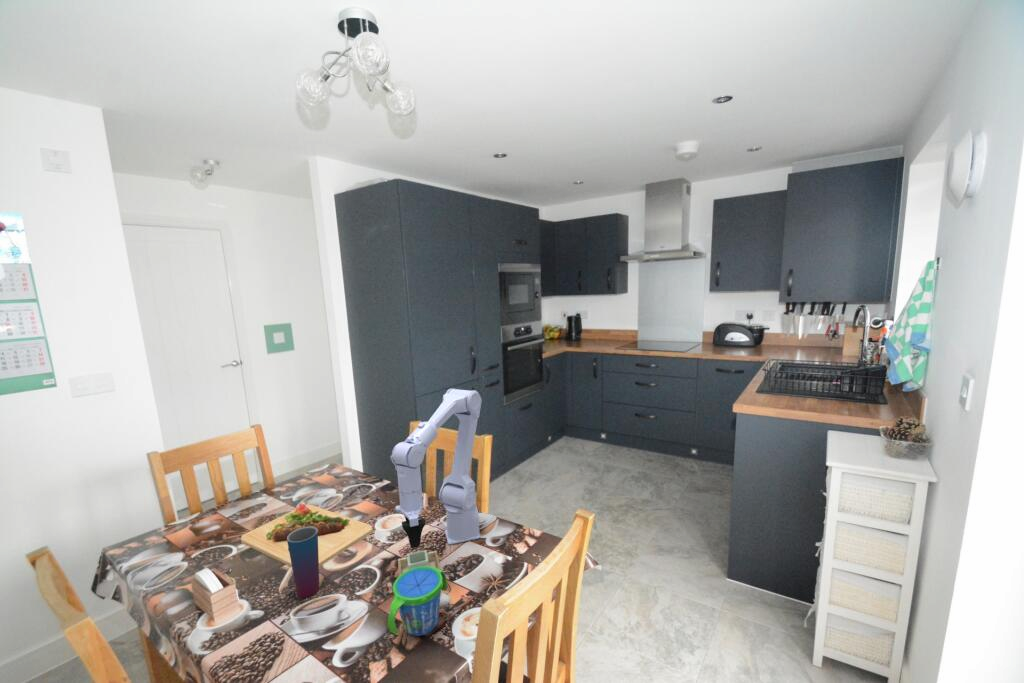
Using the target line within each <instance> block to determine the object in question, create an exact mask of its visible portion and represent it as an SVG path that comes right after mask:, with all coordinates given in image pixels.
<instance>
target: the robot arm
mask: <svg viewBox="0 0 1024 683" xmlns="http://www.w3.org/2000/svg"><path fill="white" fill-rule="evenodd" d="M482 401H483V400H482V397H481V395H480V393H479V392H478V391H477V390H467V389H457V388H453V387H452V388H449V389H447V391H446V392H445V394H443V395H442V402H441V403H440V404H439V407H438V408H436V410H435V412H433V414H432V415H431V417H430V418H429V419H428V421H422V422H419V423H418V425H417V427H416V428H415V429H414V430H413V431H412V432H411V433H410V434H409V436H408V437H406V439H405V440H404V441H400V442H398V443H397V444H396V445H394V447H393V449H392V451H391V455H390V461H391V462H392V463H393V465H394V468H395V471H397V472H396V473H397V475H396V476H397V487H398V496H399V505H395V512H400V513H401V514H403V516H404V519H405V520H403V521H401V527H402V529H403V531H404V532H405V533H406V536H407V539H408V542H409V545H410V548H411V549H414V548H418V547H421V546H420V545H421V540H422V533H423V529H424V527H425V525H426V518H421V519H419V517H420V515H421V513H422V510H423V509H424V505H425V504H424V500H423V489H422V488H423V486H422V476H421V475H422V474H421V464H423V462H424V459H425V455H426V454H427V449H428V448H429V447H430V446H431V445H432V444H433V442H434V440H436V439H437V437H438V436H439V435H438V434H439V432H438V430H439V429H440V428H441V426H443V425H444V424H445V423H446V422H447V421H448V419H450V418H451V417H452V415H454V416H456V417H457V419H458V421H459V424H458V431H457V436H456V444H455V447H454V448H455V449H454V454H453V455H454V456H453V459H452V466H451V471H450V472H451V473H450V474H449V475H447V476H446V477H444V478H443V482H442V485H441V487H440V490H439V493H438V498H439V501H440V502H439V503H441V504H442V505H443V508H444V509H445V516H446V529H444V533H445V536H446V541H447V544H448V545H449V546H450V545H455V544H459V543H464V542H465V543H466V542H469V541H473V540H478V539H480V538H481V535H480V519H479V510H478V506H477V504H476V503H475V501H476V483H475V481H474V480H473V479H472V478H471V476H470V470H471V463H472V457H473V452H474V450H473V449H474V444H475V439H476V432H477V426H478V419H479V418H480V413H481V407H482Z"/></svg>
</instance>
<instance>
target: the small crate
mask: <svg viewBox="0 0 1024 683" xmlns="http://www.w3.org/2000/svg"><path fill="white" fill-rule="evenodd" d="M427 553H428V551H427V549H424V550H419V551H414V552H410V553H407V554H406V557H407V562H408V570H410V569H412V568H416V567H422V566H427V567H429V561H428V556H427Z"/></svg>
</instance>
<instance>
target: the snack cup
mask: <svg viewBox="0 0 1024 683" xmlns="http://www.w3.org/2000/svg"><path fill="white" fill-rule="evenodd" d="M440 569H441V568H440ZM440 569H437V568H432V567H427V566H422V567H416V568H412V569H410V570H407V571H406V572H404V573H402V574H401V575H400V576H399V575H398V577H397V578H396V579H395V580H394V582H393V586H392V592H393V597H394V598H393V600H392V602H391V604H390V607H389V610H388V619H387V627H388V630H389V632H391V633H392V634H394V635H398V633H399V632H398V629H397V624H396V616H397V614H398V612H399V615H400V620H401V623H402V626H403V629H404V631H405V632H406V634H407V635H409V636H414V637H415V636H416V637H419V636H420V637H421V636H426V635H428V634H429V633H430V632H432V631H433V629H434V628H435V627H436V626H437V625H438V622H439V618H440V604H441V595H442V594H441V593H442V592H441V591H443V592H444V591H445V592H446V591H447V590H448V588H449V587H448V586H449V584H448V579H447V576H446V573H445V571H444V570H442V569H441V570H440Z"/></svg>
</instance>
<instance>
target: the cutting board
mask: <svg viewBox="0 0 1024 683" xmlns="http://www.w3.org/2000/svg"><path fill="white" fill-rule="evenodd" d="M303 527H316V528H317V529H318V558H319V568H320V567H322V565H324V564H326V563H328V562H329V561H331V560H332V559H334V558H335V557H337V556H339V555H340V554H342V553H343V552H345V551H346V550H348V549H350V547H352V546H354V545H355V544H357V543H359V542H360V541H362V540H363V539H364V538H366V537H367V536H369V535H371V534H372V533H373V527H372V525H371V524H368V523H366V522H364V521H359V520H357V519H354V518H352V517H347V516H346V515H342V514H339V513H336V512H333V511H331V510H328V509H324V508H322V507H319V506H316V505H312V504H305V503H299V505H298V506H297V508H296V509H292V511H291V510H290V511H289V512H287V513H285V514H283V515H281V516H279V517H277V518H275V519H273V520H270V521H269V522H267V523H264V524H263V525H261V526H257V528H254V529H253V530H251V531H248V532H246V533H244V534H242V535H241V538H240V543H241V544H242V545H245V546H247V547H249V548H251V549H252V550H253V549H254V550H256V551H257V552H260V553H262V554H263V555H266V556H268V557H270V558H271V559H274V560H276V561H278V562H280V563H283V564H285V565H287V566H289V567H291V568H292V564H291V559H290V553H289V548H288V542H287V536H288V535H289V534H290V533H291V532H293V531H295V530H297V529H299V528H303Z"/></svg>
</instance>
